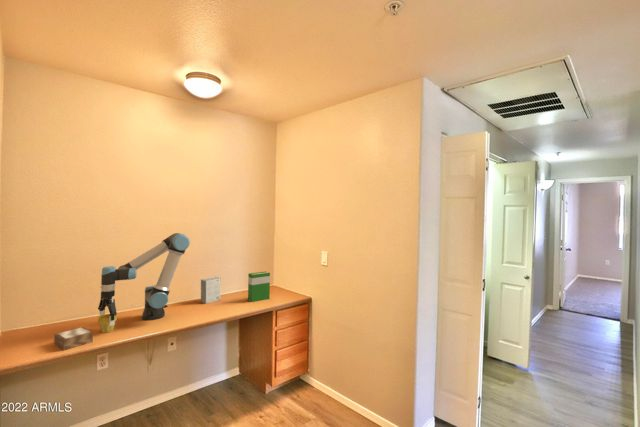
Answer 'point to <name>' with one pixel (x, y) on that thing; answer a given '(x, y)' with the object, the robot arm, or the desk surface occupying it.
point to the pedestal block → (73, 338)
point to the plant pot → (106, 323)
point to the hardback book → (258, 286)
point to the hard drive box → (210, 289)
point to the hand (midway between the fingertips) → (106, 323)
